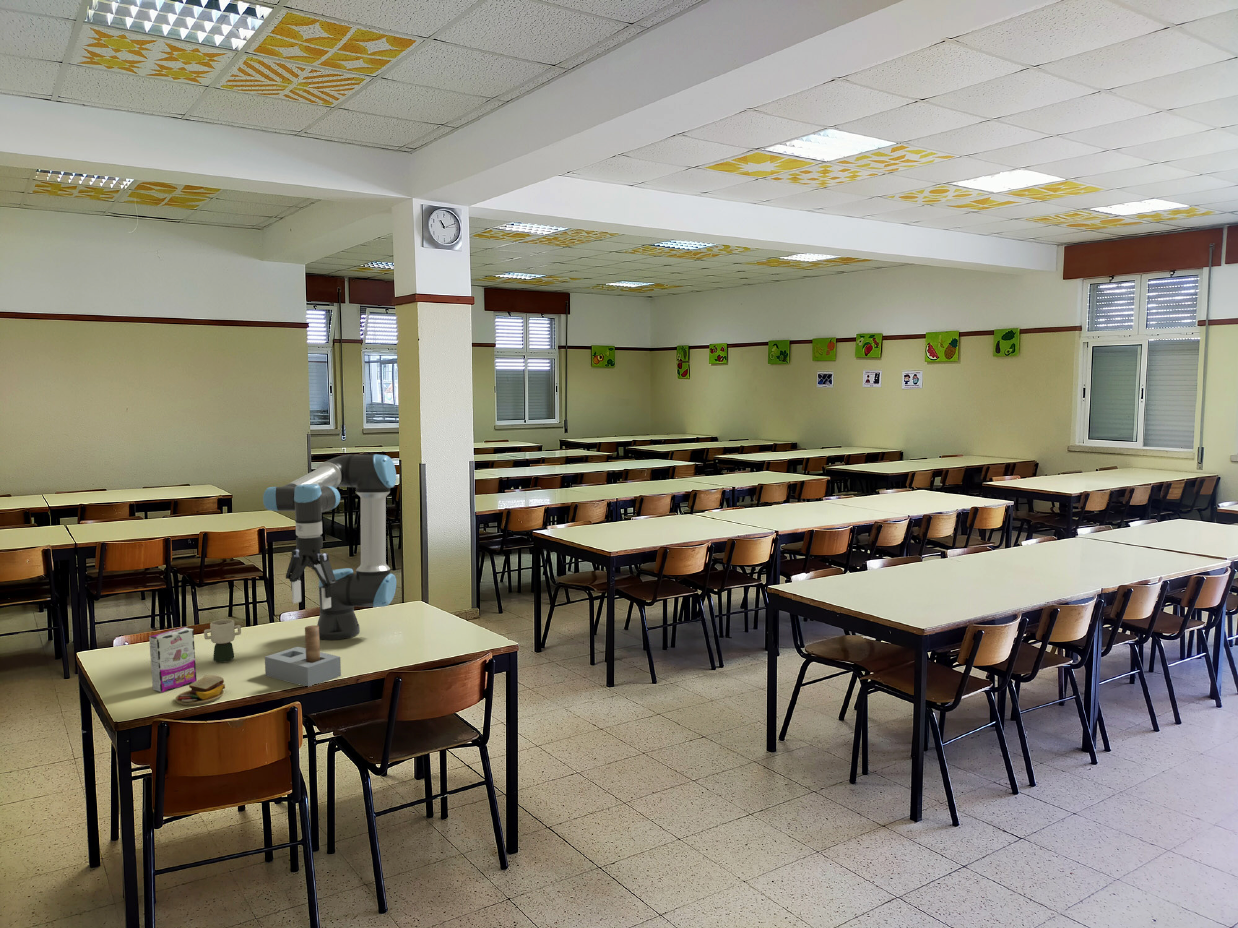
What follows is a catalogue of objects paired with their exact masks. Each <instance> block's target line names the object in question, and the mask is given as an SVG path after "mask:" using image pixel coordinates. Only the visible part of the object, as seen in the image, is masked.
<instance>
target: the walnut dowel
mask: <svg viewBox="0 0 1238 928" xmlns="http://www.w3.org/2000/svg"><path fill="white" fill-rule="evenodd" d="M304 638H305V639H304V642H305V648H306V662H309V663H314V662H317V661H320V652H321V650H320V649H321V645H320V639H319V626H317V624H316V625H314V624H313V625H307V626H306V627H304Z"/></svg>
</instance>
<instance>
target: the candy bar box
mask: <svg viewBox="0 0 1238 928" xmlns="http://www.w3.org/2000/svg"><path fill="white" fill-rule="evenodd" d="M148 639H149V654H150V668H151V684H152V690H153V691H155V692H158V693H161V694H162V693H165V692H169V691H172V690H175V689H178V688H181V687H184V686H189V685H190V684H192V683H194V682H195V681H197V680H198V679H197V666H196V665H197V664H196V652H195V649H196V647H195V634H194V628H189V627H185V626H184V627H181V628H177V629H173V630H168V631H165V632H161V633H157V634H154V635H153V634H152V635H150V636H149V637H148Z"/></svg>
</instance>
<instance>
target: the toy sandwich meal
mask: <svg viewBox="0 0 1238 928" xmlns="http://www.w3.org/2000/svg"><path fill="white" fill-rule="evenodd" d="M224 683H225V680H224V678H223V677H221V676H219V675H215V674H214V675H212V674H211V675H210V674H209V675H204V676H203V677H201V678H198V679H197V681H195V682H194V683H191V684H188V686H189V690H186V691H183V692H182V693H179V694H178V695H176V697H175V702H177V703H178V704H180V705H183V706H199V705H206V704H209V702H210V703H212V702H213V703H214V702H215V701H217V700H219V699H220V698H221V697H222V696H224V693H225V691H224V689H225V688H226V684H224Z"/></svg>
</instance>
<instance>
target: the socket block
mask: <svg viewBox="0 0 1238 928" xmlns="http://www.w3.org/2000/svg"><path fill="white" fill-rule="evenodd" d="M341 667H342V666H341V656H338V655H335V654H329V653H326V652H321V651H320V661H317V662H314V663H309V662H306V647H301V646H296V647H292V648H289V649H285V650H282V651H279V652H276V653H275V652H274V653H272V654H269V655H266V656H264V668H265V669H264V671H265V676H266V677H268V678H273V679H277V680H280V681H284V682H286V683H287V682H288V683H291V684H295V685H298V684H300V685H299V686H301V685H304V686H303V687H305V686H308V687H307V688H310V687H309V686H311V687H313V686H312V685H314V684H317V685H319V684H322V683H325V682H328V681H330V680H333V679H336V678H338V676H339V677H342V669H341ZM324 681H325V682H324ZM318 683H319V684H318ZM314 686H315V685H314Z"/></svg>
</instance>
